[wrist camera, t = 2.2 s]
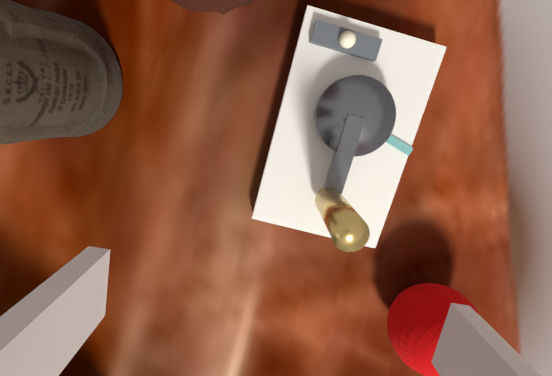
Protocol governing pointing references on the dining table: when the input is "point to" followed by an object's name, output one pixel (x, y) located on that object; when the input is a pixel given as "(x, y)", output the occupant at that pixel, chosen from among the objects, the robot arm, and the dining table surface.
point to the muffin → (211, 5)
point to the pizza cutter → (350, 148)
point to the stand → (304, 138)
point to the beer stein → (53, 76)
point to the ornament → (421, 323)
